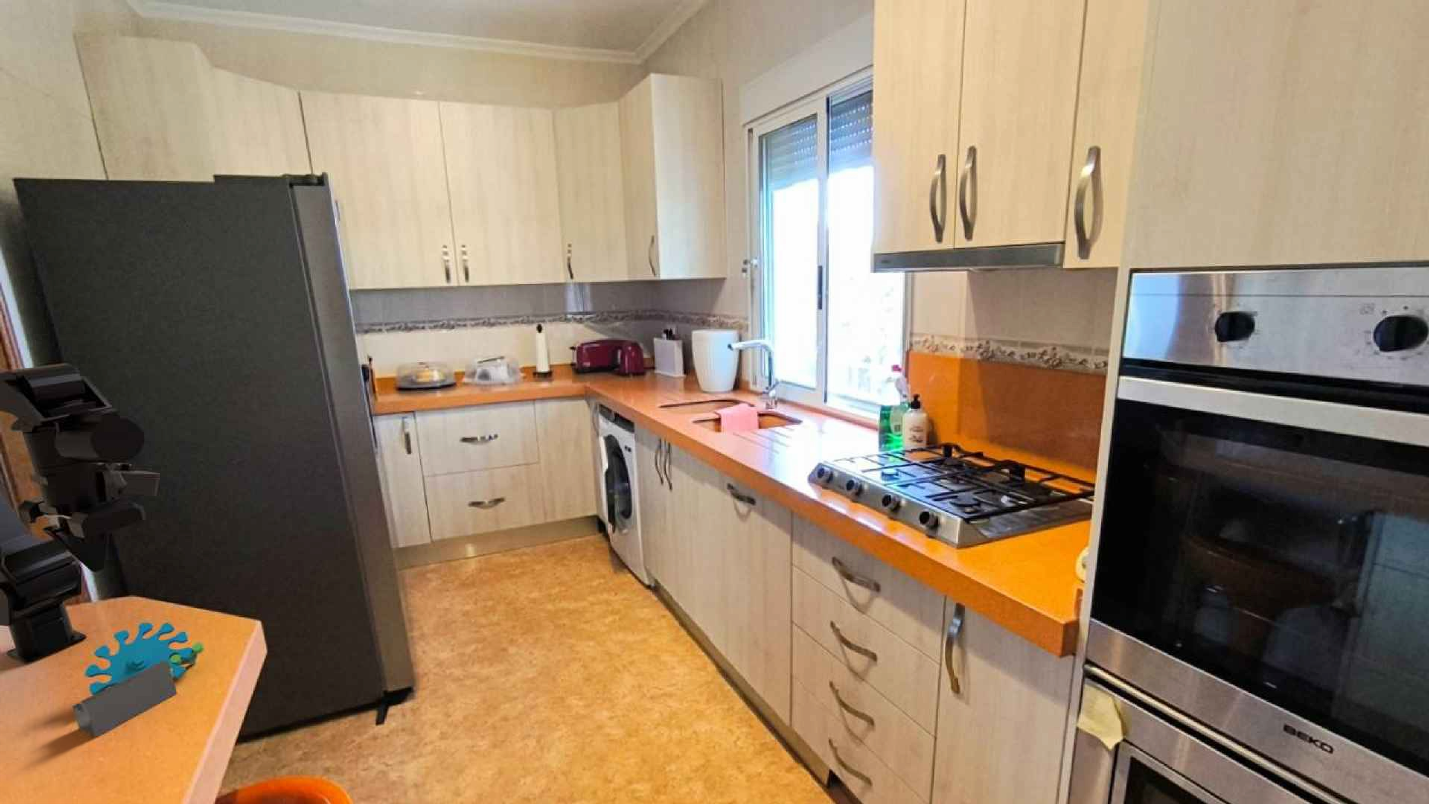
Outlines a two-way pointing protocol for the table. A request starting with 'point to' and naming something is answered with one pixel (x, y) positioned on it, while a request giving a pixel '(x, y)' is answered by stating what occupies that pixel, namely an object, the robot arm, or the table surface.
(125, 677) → the gear
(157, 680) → the bay frame
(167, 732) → the table surface
